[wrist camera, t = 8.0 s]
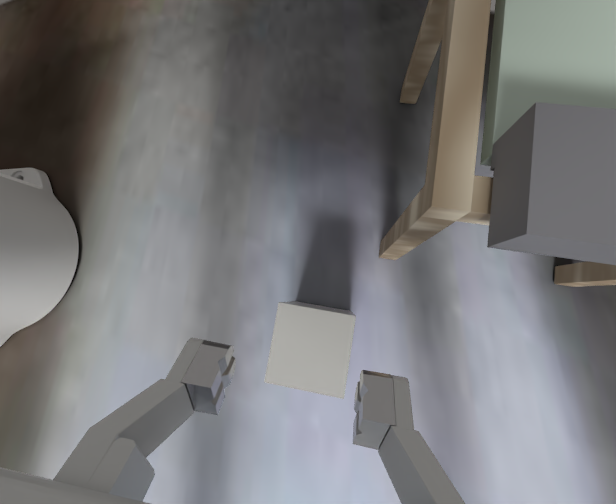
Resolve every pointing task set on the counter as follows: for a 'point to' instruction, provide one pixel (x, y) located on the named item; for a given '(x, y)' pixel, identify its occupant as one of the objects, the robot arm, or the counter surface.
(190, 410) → the robot arm
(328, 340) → the stone
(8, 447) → the counter surface
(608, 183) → the trapdoor
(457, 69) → the frame
